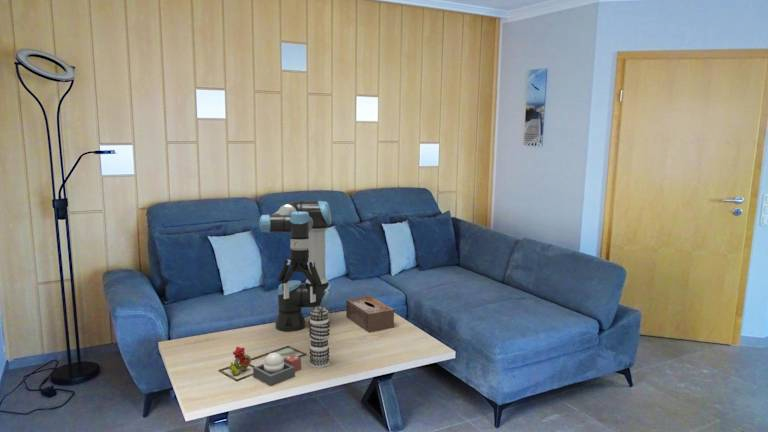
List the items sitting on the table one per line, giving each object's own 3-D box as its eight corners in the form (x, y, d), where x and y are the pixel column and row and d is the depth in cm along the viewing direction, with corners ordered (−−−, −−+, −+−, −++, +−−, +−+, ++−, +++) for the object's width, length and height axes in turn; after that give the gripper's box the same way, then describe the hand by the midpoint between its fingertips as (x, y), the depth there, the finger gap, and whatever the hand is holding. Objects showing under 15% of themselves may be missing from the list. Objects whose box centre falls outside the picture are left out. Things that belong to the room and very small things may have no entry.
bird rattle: (241, 372, 235) (223, 369, 228) (250, 346, 236) (232, 343, 230) (249, 377, 230) (230, 374, 224) (257, 351, 232) (239, 348, 225)
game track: (218, 371, 231) (218, 369, 231) (288, 346, 257) (288, 345, 257) (236, 381, 222) (236, 380, 222) (306, 354, 248) (306, 353, 248)
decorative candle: (321, 370, 233) (320, 313, 229) (304, 364, 237) (303, 309, 233) (334, 362, 240) (334, 307, 236) (317, 357, 245) (317, 303, 241)
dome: (260, 371, 226) (259, 353, 224) (276, 365, 231) (275, 347, 230) (271, 377, 220) (271, 359, 219) (287, 370, 226) (287, 353, 225)
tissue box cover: (346, 317, 297) (346, 299, 296) (369, 313, 304) (369, 295, 303) (369, 333, 275) (369, 314, 273) (393, 328, 282) (394, 309, 281)
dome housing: (253, 376, 226) (252, 363, 225) (288, 363, 239) (288, 351, 238) (270, 386, 218) (270, 372, 217) (306, 371, 231) (306, 359, 230)
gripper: (269, 248, 229) (269, 298, 230) (319, 251, 218) (319, 305, 219) (281, 246, 236) (281, 295, 237) (330, 250, 224) (329, 301, 225)
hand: (299, 300), depth 228 cm, fingers open, 13 cm apart
